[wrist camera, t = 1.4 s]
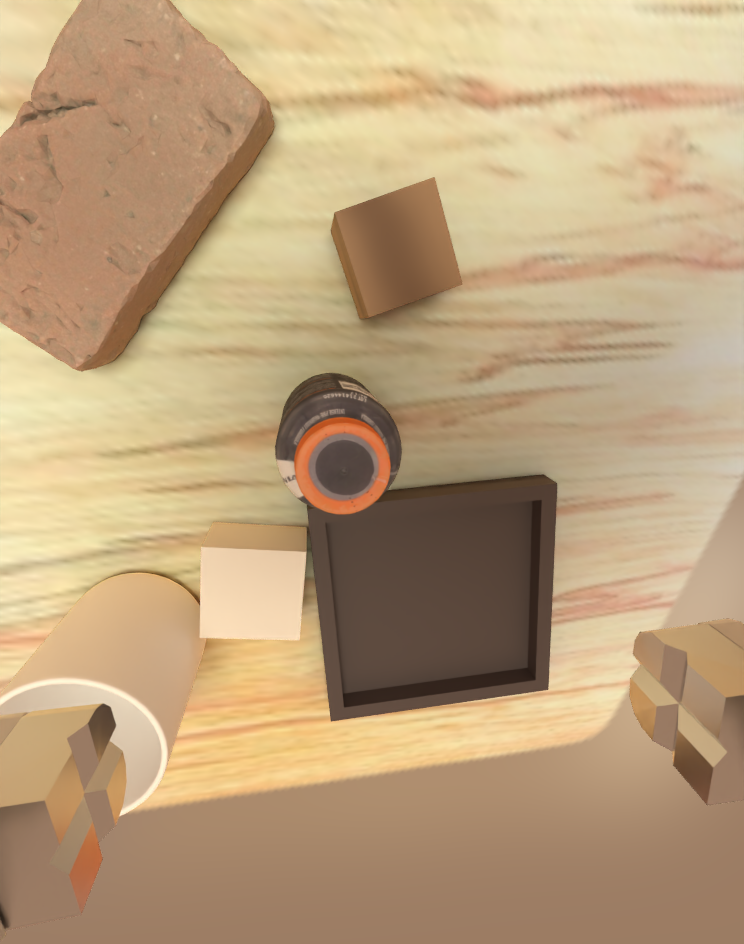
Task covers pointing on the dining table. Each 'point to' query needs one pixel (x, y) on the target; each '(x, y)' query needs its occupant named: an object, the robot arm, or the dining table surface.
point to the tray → (436, 595)
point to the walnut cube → (395, 249)
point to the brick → (117, 173)
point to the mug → (121, 669)
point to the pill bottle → (336, 445)
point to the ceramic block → (252, 581)
